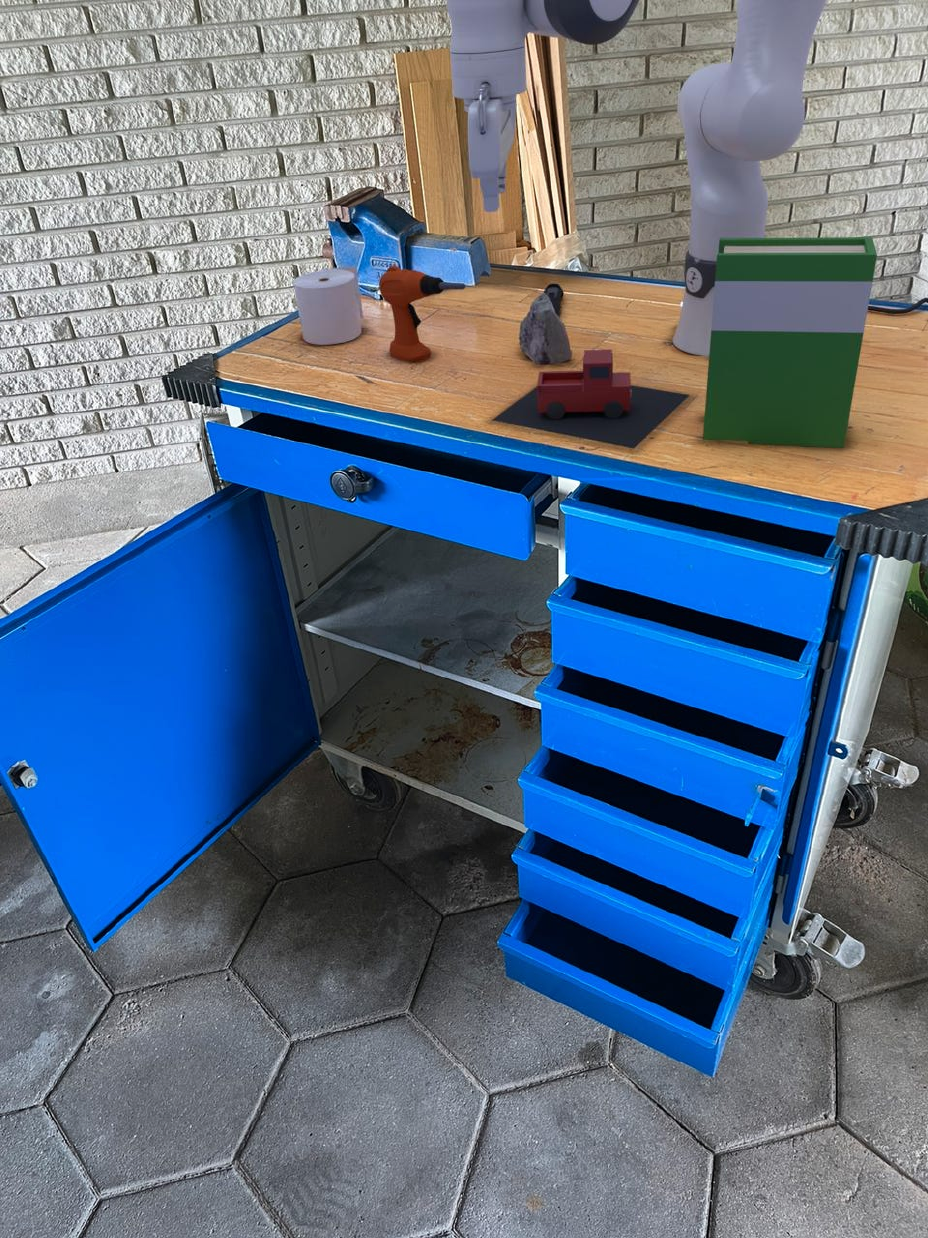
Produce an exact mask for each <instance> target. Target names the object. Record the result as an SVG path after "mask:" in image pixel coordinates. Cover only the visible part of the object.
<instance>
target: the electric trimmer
mask: <svg viewBox="0 0 928 1238" xmlns="http://www.w3.org/2000/svg"><path fill="white" fill-rule="evenodd" d="M543 293H545V294H546V295H547V296H548V297H549V299H550V301H551V303H552V305H553V308H554V311H555V313H556V315H557V316H559V314H560V312H561V310H562V305H561V299H562V298H563V297H564V294H565V292H564V290H563V288H562V286H561V285H560V284H559V283H549V284H548V285H547V286H546V287H545V288H544V291H543Z"/></svg>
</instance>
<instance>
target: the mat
mask: <svg viewBox="0 0 928 1238" xmlns="http://www.w3.org/2000/svg"><path fill="white" fill-rule="evenodd" d="M689 397H690V394H686V393H681V392H675V391H669V390H662V389H656V388H650V387H644V386H638V385H632V384H631V397H630V411H623V412H622V414H621V416H620V417H618V418H616V419H610V418H608V417H607V416H606V415H605V413H604V412H565V414H564V416H563V417H562V418H561V419H558V420H553V419H551V418H549V417H548V415H547V413H538V398H537V386H535V388H533V389H531V390H530V391H529V392H528V393H527V394H525V395H523V396H522V397H521V398H520V399H518V400H517V401H516V402H514V403H513V404H511V405H510V406H509V407H507V408H506V409H504V411H502V412H500V413H499V414H498V415H496V416H495V417H493V418H492V421H494V422H498V423H503V424H509V425H513V426H519V427H523V428H529V429H532V430H539V431H544V432H548V433H553V434H558V435H564V436H567V437H568V436H569V437H574V438H579V439H584V440H589V441H593V442H599V443H604V444H608V445H613V446H618V447H623V448H628V449H633V450H634V449H635V448H636V447H638V446H639V445H640V444H641V443H642V441H644V440H645V439H646V438H647V437H648V436H649V435H650V434H651V433H652V432H653V431H654V430H655V429H656V428H658V426H659V425H660V424H661V423H662V422H663V421H665V420H666V419H667V418H668V417H669V416H670V415H671V414H672V413H673V412H674V411H675V410H676V409H678V407H679V406H680V405H681V404H682V403H683V402H685V401H686V399H688V398H689Z"/></svg>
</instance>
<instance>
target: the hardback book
mask: <svg viewBox="0 0 928 1238" xmlns="http://www.w3.org/2000/svg"><path fill="white" fill-rule="evenodd" d="M877 259H878V253H877V250H876V246H875V242H874V239H873V237H872V236H842V237H840V236H837V237H834V236H832V237H831V236H830V237H829V236H825V237H824V236H822V237H817V236H816V237H764V238H720V240H719V253H717V263H716V276H715V289H714V301H713V314H712V327H711V340H710V352H709V356H708V366H707V379H706V391H705V394H706V395H705V405H704V406H705V407H704V418H703V429H702V440H707V441H727V442H728V441H730V442H733V441H734V442H747V444H748V445H769V446H770V445H771V446H792V447H794V446H795V447H816V448H836V449H837V448H838V449H844V448H845V442H846V438H847V432H848V426H849V420H850V414H851V409H852V402H853V397H854V391H855V386H856V380H857V374H858V369H859V363H860V362H859V361H860V356H861V350H862V345H863V338H864V334H865V328H866V323H867V316H868V311H869V310H868V306H870V298H871V293H872V287H873V281H874V275H875V269H876V265H877Z"/></svg>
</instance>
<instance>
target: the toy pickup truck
mask: <svg viewBox="0 0 928 1238" xmlns="http://www.w3.org/2000/svg"><path fill="white" fill-rule="evenodd" d="M583 351H584V353H583V356H582V357H583V358H582V360H583V361H582V370H557V371H556V370H555V371H552V370H551V371H539V373H538V378H537V385H536V387H537V398H538V413H547V415H548V417H549V418H551V419H553V420H558V419H561V418H562V417H563V416H564V414H565V412H604V413H605V415H606V416H607V417H608V418H610V419H616V418H618V417H620V416H621V414H622V412H623V411H630V397H631V385H632V380H631V372H630V371H629V372H613V371H614V370H613V367H614V363H613V362H614V360H613V359H614V358H613V357H614V356H613V349H585V350H583Z"/></svg>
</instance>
